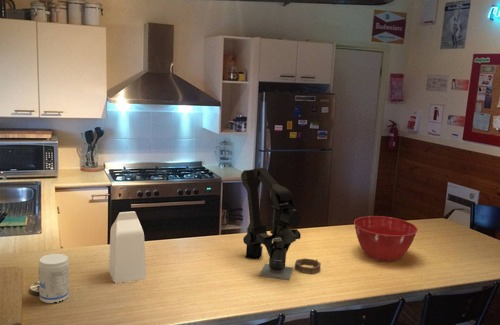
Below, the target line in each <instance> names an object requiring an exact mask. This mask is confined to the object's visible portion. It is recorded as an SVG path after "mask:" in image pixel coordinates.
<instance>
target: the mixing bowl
mask: <svg viewBox="0 0 500 325" xmlns="http://www.w3.org/2000/svg"><path fill="white" fill-rule="evenodd" d="M353 225H354V227H355V233H356V238H357V241H358V244H359V246H360V248H361V250H362V251H363V253H364V254H366V256H368V257H369V258H370V259H372V260H376V261H379V262H386V263H387V262H390V263H391V262H394V261H395V262H396V261H397V260H399V259H401V258H402V257H404V256H405V254H406V253H407V252H408V250H409V249H410V247H411V246H412V243H413V242H414V239H415V237H416V234H417V233H418V231H419V230H418V229H419V228H418V227H417V226H416V225H415V224H414V223H412V222H410V221H407V220H404V219H400V218H396V217H390V216H384V215H383V216H382V215H381V216H379V215H367V216H360V217H358V218H355V219H354V221H353Z"/></svg>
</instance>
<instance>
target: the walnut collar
mask: <svg viewBox="0 0 500 325" xmlns="http://www.w3.org/2000/svg"><path fill="white" fill-rule="evenodd" d="M305 265H306V266H305ZM321 265H322V264H321V262H320V261H319V260H318V259H313V258H305V257H304V258H299V259H296V260H295V262H294V271H297V272H299V273H301V274H305V275H315V274H318V273H320V271H321ZM310 266H312V267H310Z"/></svg>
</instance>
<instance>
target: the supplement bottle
mask: <svg viewBox="0 0 500 325" xmlns="http://www.w3.org/2000/svg"><path fill="white" fill-rule="evenodd" d="M273 243H274V244H275V245H274V246H273V251H272V258H270V257H269V256H268V257H269V259H268V260H269V261H268V264H269V268H270V269H272V270H278V271H279V270H283V269H284V268H285V266H286V262H287V261H286V260H287V253H286V250H287V249H286V247H285V246H284V245H285V243H284V242H283V240H282V239H281V238H280V239H274V240H273Z"/></svg>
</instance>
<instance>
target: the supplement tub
mask: <svg viewBox="0 0 500 325" xmlns="http://www.w3.org/2000/svg"><path fill="white" fill-rule="evenodd" d="M69 267H70V266H69V257H68V255H66V254H63V253H49V254H46V255H42V257H40V258H39V262H38V284H39V285H38V286H39V287H38V288H39V290H38V291H39V300H40V301H41V302H43V303H46V304H55V303H54V302H57V303H60V302H59V301H61V302H63V301H65V300H66V299H67V298H68V297H69V295H70V290H69V289H70V285H69V284H70V283H69V281H70V277H69V275H70V271H69V269H70V268H69ZM62 300H63V301H62Z"/></svg>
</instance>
